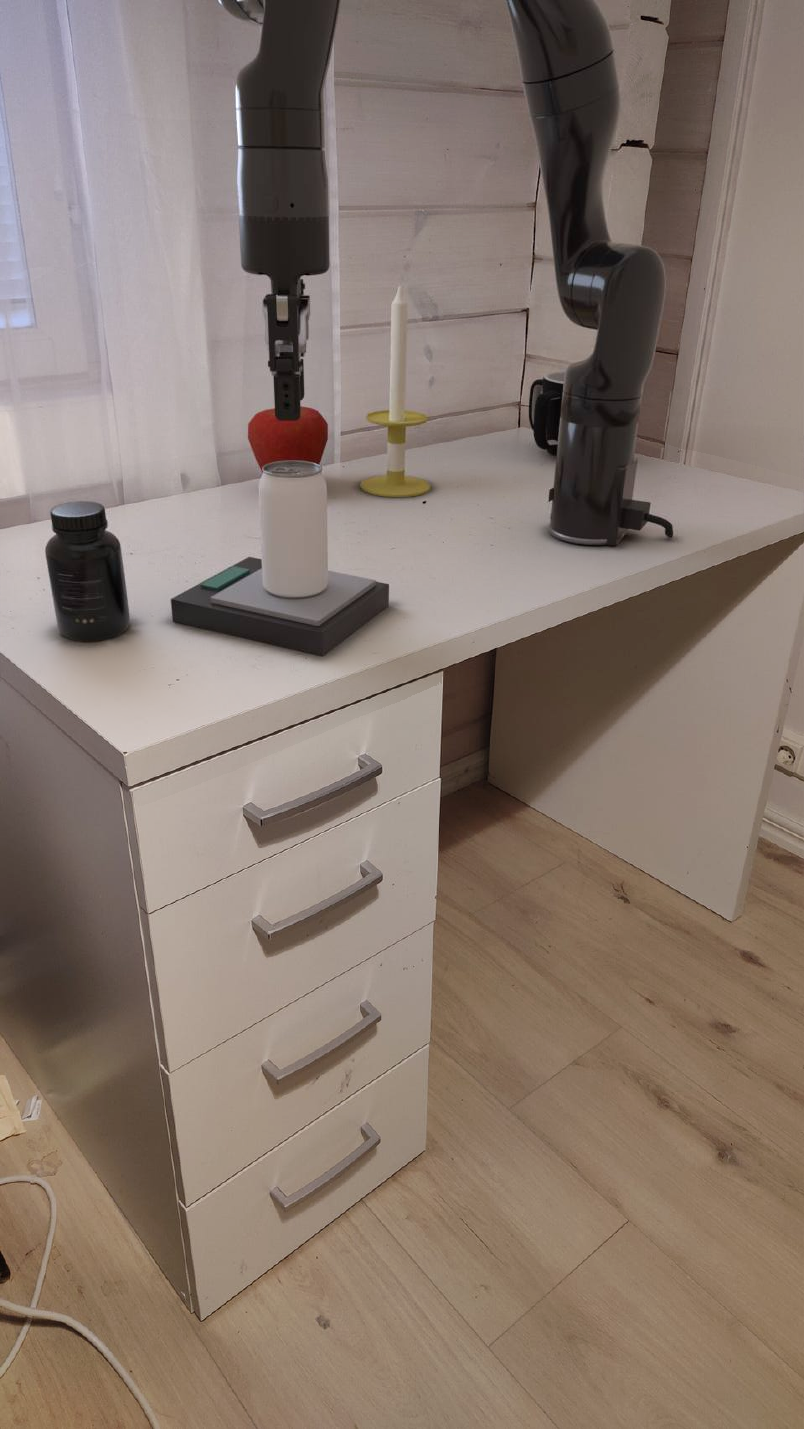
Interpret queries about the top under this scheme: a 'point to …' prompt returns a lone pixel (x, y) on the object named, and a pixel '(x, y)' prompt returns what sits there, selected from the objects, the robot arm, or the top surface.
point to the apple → (288, 437)
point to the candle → (396, 416)
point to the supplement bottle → (86, 573)
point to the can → (293, 529)
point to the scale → (280, 608)
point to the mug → (546, 410)
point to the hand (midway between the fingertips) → (290, 409)
